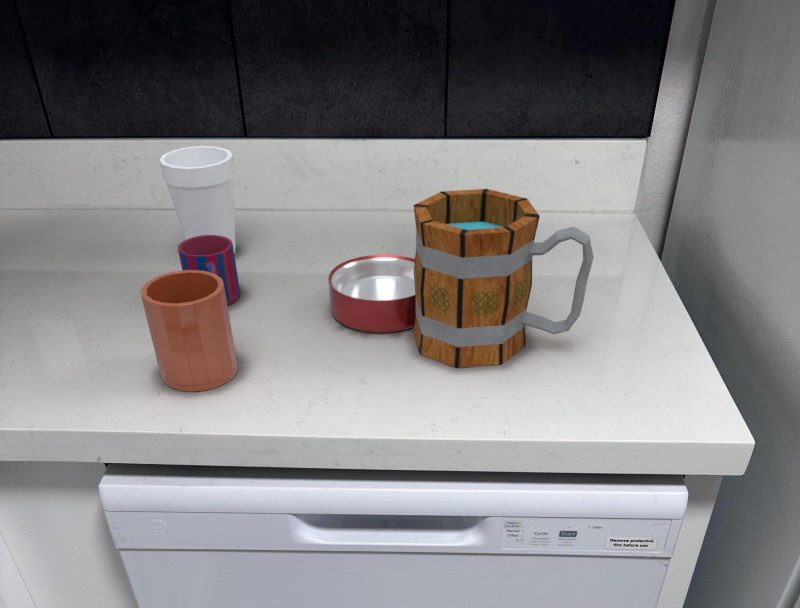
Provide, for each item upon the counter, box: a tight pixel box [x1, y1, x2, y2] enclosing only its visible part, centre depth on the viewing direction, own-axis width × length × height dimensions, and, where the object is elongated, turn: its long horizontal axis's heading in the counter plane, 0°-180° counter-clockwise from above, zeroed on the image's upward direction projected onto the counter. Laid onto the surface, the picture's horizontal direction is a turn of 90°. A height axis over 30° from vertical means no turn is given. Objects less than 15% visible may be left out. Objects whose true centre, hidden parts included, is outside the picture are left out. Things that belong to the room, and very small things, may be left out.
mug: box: [412, 188, 595, 369], centre depth 87 cm, size 20×14×15 cm
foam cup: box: [159, 145, 236, 255], centre depth 108 cm, size 10×9×13 cm
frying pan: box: [327, 243, 416, 334], centre depth 103 cm, size 32×13×6 cm, turn 163°
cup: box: [177, 235, 241, 306], centre depth 99 cm, size 7×10×7 cm
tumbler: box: [140, 270, 239, 393], centre depth 85 cm, size 8×8×10 cm
